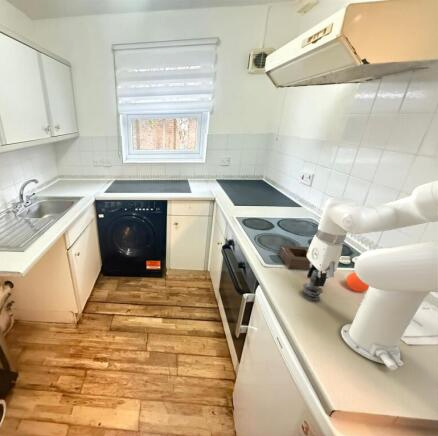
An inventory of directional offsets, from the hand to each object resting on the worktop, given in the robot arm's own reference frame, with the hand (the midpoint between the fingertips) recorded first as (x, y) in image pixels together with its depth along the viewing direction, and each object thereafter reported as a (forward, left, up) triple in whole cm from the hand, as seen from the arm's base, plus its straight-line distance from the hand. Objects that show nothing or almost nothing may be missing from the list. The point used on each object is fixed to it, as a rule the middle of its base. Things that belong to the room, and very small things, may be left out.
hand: (315, 281), depth 84 cm
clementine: (+7, -19, -7) cm, 21 cm away
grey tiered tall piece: (0, 0, -7) cm, 7 cm away
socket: (+23, -5, -7) cm, 24 cm away
